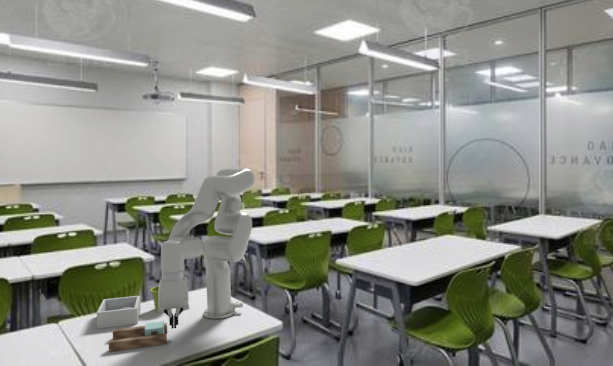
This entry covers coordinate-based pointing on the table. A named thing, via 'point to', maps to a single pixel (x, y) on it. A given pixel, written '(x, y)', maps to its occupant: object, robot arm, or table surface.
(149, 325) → the block
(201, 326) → the table surface
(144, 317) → the table surface
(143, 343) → the wooden rail pair
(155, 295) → the plant pot
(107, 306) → the holder
